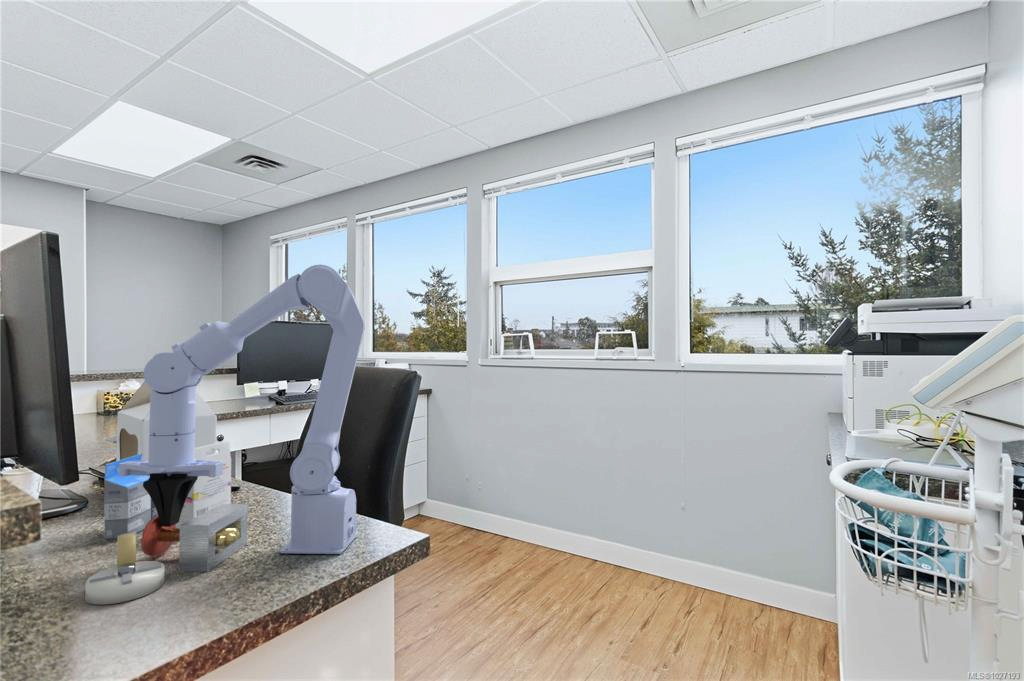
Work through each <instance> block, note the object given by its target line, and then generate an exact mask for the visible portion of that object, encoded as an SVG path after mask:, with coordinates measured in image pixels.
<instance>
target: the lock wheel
mask: <svg viewBox="0 0 1024 681" xmlns="http://www.w3.org/2000/svg"><path fill="white" fill-rule="evenodd" d="M116 541H117V542H116V546H117V547H116V565H115V566H112V567H109V568H106V569H103V570H101V571H98V572H96V573H94V574H93V575H91V576H89V577H88V578H87V580H85V585H84V586H85V589H84V590H85V591H84V592H85V593H84V600H85V602H86V603H88V604H91V605H101V606H102V605H104V606H105V605H113V604H119V603H124V602H128V601H129V602H130V601H132V600H135V599H139V598H142V597H144V596H147V595H148V594H151V593H153V592H155V591H157V590H158V589H160V588H161V587H162V586H163V585H164V584H165V569H166V568H165V564H164V563H163V562H161V561H155V560H154V561H153V560H150V561H149V560H144V561H143V560H142V561H137V533H126V534H122V535H119V536H118V539H116ZM128 563H135V564H136V571H135V573H133V574H131V573H129V574H125V575H122V576H118V567H119V566H121V565H124V564H128Z"/></svg>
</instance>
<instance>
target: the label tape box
mask: <svg viewBox="0 0 1024 681" xmlns="http://www.w3.org/2000/svg"><path fill="white" fill-rule="evenodd" d="M141 457H142V454H139V455H135V456H132V457H129V458H125V459H122V460H119V461H113V462H109V463H106V464H105V467H104V468H105V469H104V479H103V480H104V483H103V484H104V486H103V487H104V492H103V493H104V497H103V500H104V501H103V502H104V508H103V509H104V510H103V512H104V514H103V515H104V539H105V540H117V539H118V536H119V535H122V534H126V533H136V534H138V533H140V532H142V531H144V529H145V527H146V525H147V523H148V522H149V521H150V520H151V519H152V518H153V517H154V516H156V515H158V513H157V510H156V507H155V505H154V503H153V501H152V499H151V497H150V495H149V494H148V492H147V491H146V490H145V489H144V487H143V482H144V481H147V480H149V478H150V476H138V475H128V476H125V477H120V476H119V471H118V468H119V464H120V463H123V462H127V461H141Z"/></svg>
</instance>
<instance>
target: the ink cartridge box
mask: <svg viewBox="0 0 1024 681" xmlns="http://www.w3.org/2000/svg"><path fill="white" fill-rule="evenodd" d="M230 443H231V442H230V441H229V440H225V441H221V442H216V443H215V444H211V445H206V446H202V447H198V448H195V452H194V459H197V460H206V461H216V462H223V474H222V475H220V476H217V477H209V476H198V479H197V480H196V482H195V483H194V485H193V487H192V488H191V490H190V492H189V494H188V496H187V498H186V501H185V503H184V506H183V509H182V512H181V516H180V519H179V523H177V524H176V528H180V525H181V524H183V523H185V522H187V521H189V520H191V519H193V518H195V517H197V516H199V515H201V514H203V513H205V512H207V511H209V510H211V509H213V508H215V507H217V506H219V505H221V504H232V503H231V502H232V501H231V500H232V499H231V498H232V457H231V444H230ZM211 449H213V450H216V451H218V452H216V454H213V455H209V456H206V452H209V451H210V450H211ZM178 472H181V471H178Z"/></svg>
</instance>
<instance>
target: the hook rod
mask: <svg viewBox="0 0 1024 681" xmlns="http://www.w3.org/2000/svg"><path fill="white" fill-rule="evenodd" d="M142 531H143V532H142V533H141V534H142V535H141V540H140V541H141V542H140V545H141V550H142V552H143V553H144V554H145V555H146V556H149V557H159V556H162V555H163V554H165V553H166V552H167V551H168V550H169V549H170V547H171V546H172V545H173V543H180V528H176V524H174V525H172V526H170V527H161V524H160V520H159V517H158V515H156V516H154V517H153V518H152V519H151V520H150V521H149V522H148V523H147V525H146V527H145V529H144V530H142ZM239 537H240V533H239V529H238V528H222V529H221V530H219V531H217V532H216V545H215V546H228V545H230V544H232V543H235V542H236V541H237V540H238V539H239Z"/></svg>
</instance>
